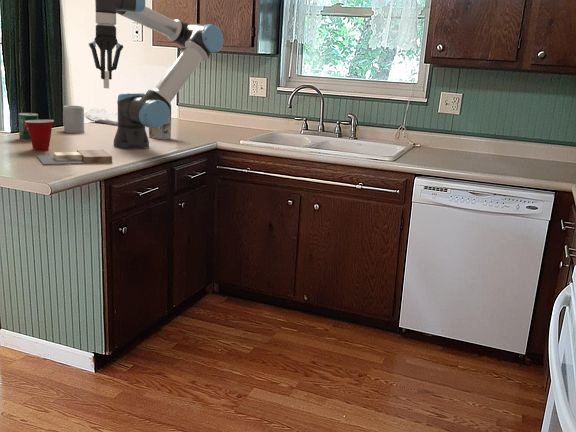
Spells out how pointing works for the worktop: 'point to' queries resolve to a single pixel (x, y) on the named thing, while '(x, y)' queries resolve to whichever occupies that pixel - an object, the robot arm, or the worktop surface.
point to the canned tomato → (25, 125)
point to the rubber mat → (51, 161)
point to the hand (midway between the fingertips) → (106, 88)
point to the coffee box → (162, 130)
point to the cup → (73, 119)
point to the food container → (102, 116)
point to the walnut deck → (95, 156)
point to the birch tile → (67, 156)
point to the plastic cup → (40, 133)
